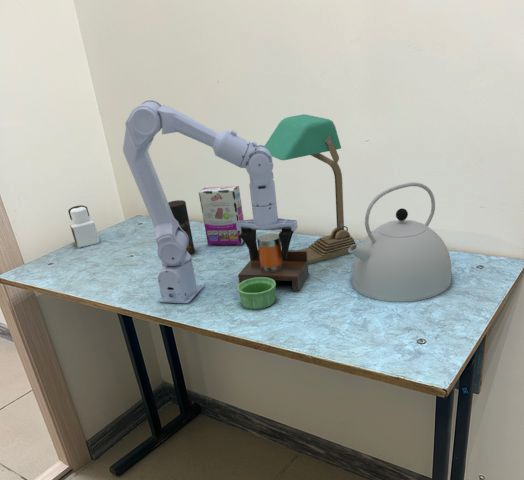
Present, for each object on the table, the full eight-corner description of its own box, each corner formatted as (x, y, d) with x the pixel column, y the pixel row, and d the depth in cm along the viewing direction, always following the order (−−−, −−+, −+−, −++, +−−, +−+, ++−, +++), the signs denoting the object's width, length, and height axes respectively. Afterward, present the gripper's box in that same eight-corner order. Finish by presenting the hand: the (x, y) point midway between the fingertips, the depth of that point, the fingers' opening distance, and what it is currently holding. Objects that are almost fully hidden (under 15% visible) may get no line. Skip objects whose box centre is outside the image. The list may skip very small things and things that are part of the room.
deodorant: (196, 249, 163) (187, 199, 155) (192, 256, 158) (182, 205, 150) (177, 250, 164) (167, 201, 156) (173, 258, 158) (162, 207, 151)
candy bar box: (247, 239, 165) (239, 185, 156) (241, 245, 161) (234, 190, 152) (213, 239, 168) (204, 186, 160) (207, 245, 164) (197, 191, 156)
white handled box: (75, 242, 182) (64, 207, 176) (96, 237, 184) (86, 202, 178) (78, 248, 176) (67, 212, 170) (100, 243, 178) (89, 207, 172)
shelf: (298, 291, 129) (296, 266, 126) (240, 289, 134) (236, 265, 131) (308, 274, 137) (306, 250, 134) (253, 273, 142) (250, 249, 139)
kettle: (376, 314, 116) (376, 210, 104) (326, 278, 134) (321, 186, 122) (472, 284, 122) (482, 183, 111) (412, 254, 141) (415, 165, 129)
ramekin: (240, 313, 123) (237, 295, 121) (239, 296, 131) (236, 279, 129) (279, 307, 123) (277, 290, 121) (275, 291, 131) (273, 274, 129)
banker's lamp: (365, 255, 144) (362, 113, 126) (293, 274, 138) (280, 129, 120) (336, 238, 157) (330, 108, 139) (270, 255, 151) (255, 121, 133)
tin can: (279, 273, 130) (275, 241, 126) (257, 272, 132) (253, 241, 128) (285, 264, 134) (282, 233, 130) (264, 263, 136) (261, 233, 132)
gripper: (299, 197, 125) (303, 252, 132) (240, 198, 130) (247, 251, 137) (290, 206, 119) (295, 263, 126) (230, 207, 124) (238, 262, 131)
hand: (270, 258), depth 131 cm, fingers open, 7 cm apart
